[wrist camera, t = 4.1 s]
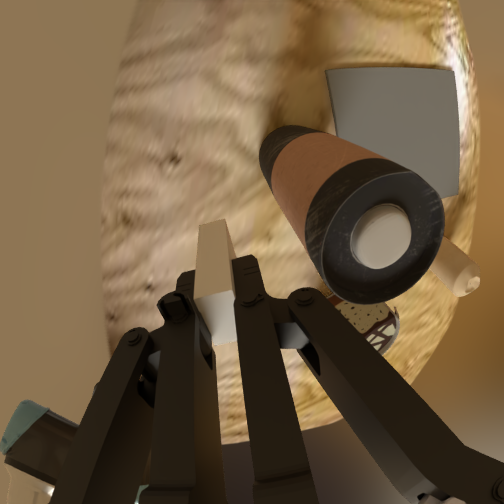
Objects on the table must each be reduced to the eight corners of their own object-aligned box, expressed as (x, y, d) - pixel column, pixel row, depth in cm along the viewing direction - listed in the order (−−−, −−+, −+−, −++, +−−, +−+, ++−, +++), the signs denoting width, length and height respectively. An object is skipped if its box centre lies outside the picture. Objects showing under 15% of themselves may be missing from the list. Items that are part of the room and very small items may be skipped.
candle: (419, 269, 41) (455, 308, 32) (422, 239, 38) (463, 276, 29) (444, 259, 41) (481, 295, 32) (448, 230, 38) (489, 264, 29)
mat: (345, 219, 35) (347, 221, 34) (324, 70, 26) (326, 69, 25) (455, 193, 35) (458, 194, 34) (451, 70, 26) (454, 71, 25)
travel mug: (269, 199, 32) (331, 327, 15) (246, 135, 29) (298, 199, 11) (331, 178, 32) (444, 276, 15) (314, 114, 28) (444, 151, 11)
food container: (312, 337, 45) (331, 387, 36) (295, 315, 42) (313, 368, 33) (379, 297, 42) (410, 341, 34) (368, 271, 39) (402, 316, 31)
